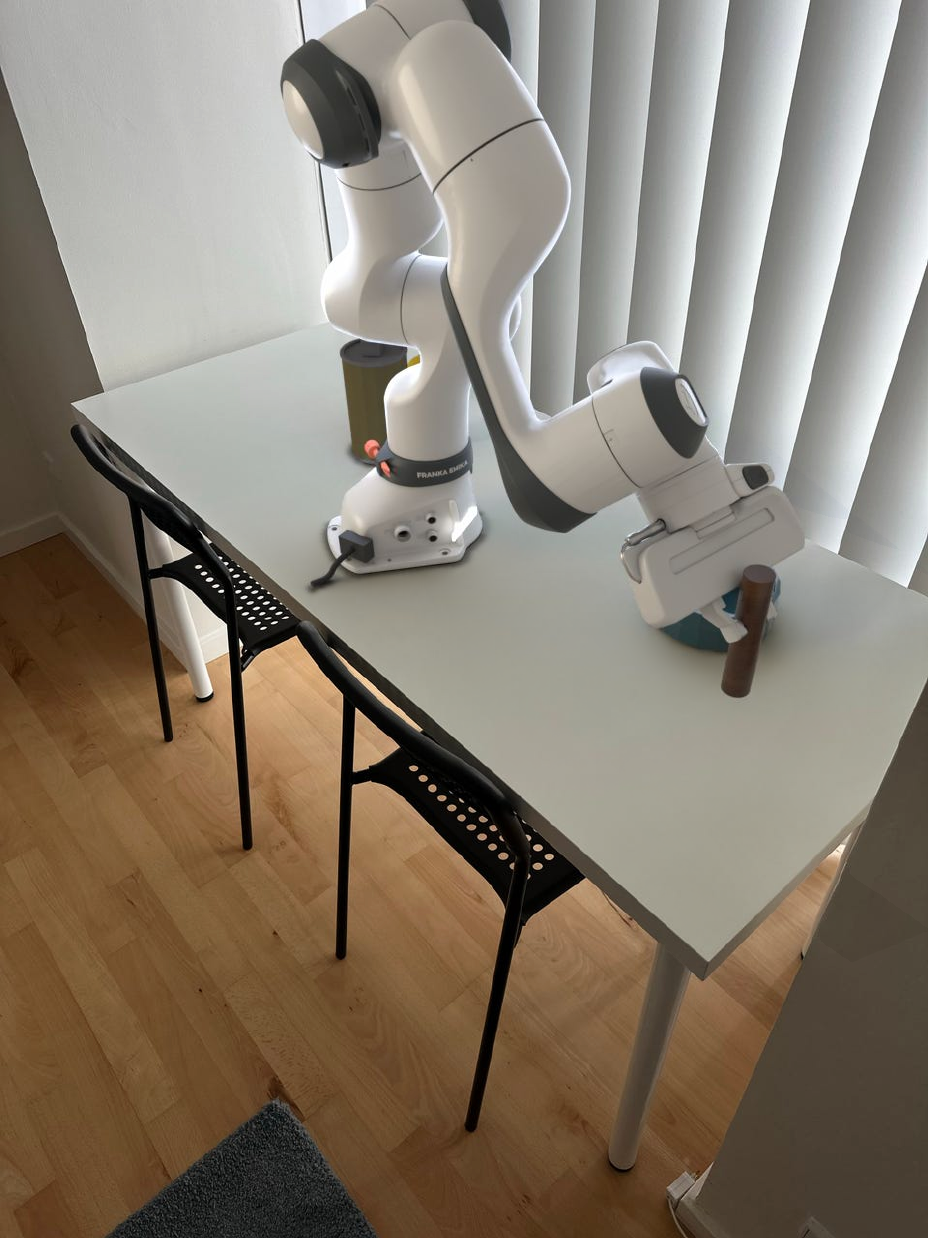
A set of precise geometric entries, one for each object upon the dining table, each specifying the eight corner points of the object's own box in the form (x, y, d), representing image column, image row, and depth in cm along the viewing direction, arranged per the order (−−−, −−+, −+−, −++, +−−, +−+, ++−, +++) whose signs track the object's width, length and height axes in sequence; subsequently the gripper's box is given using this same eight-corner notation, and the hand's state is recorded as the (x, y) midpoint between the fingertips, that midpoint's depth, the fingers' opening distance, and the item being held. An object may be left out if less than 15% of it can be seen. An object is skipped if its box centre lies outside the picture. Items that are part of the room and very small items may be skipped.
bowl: (690, 668, 114) (696, 630, 110) (629, 596, 125) (632, 559, 121) (796, 636, 118) (806, 598, 114) (728, 568, 129) (735, 532, 125)
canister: (406, 467, 152) (397, 348, 139) (344, 463, 153) (329, 345, 141) (420, 434, 160) (413, 319, 147) (361, 430, 162) (348, 316, 149)
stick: (731, 701, 97) (755, 586, 87) (715, 682, 99) (737, 568, 89) (756, 693, 98) (783, 578, 88) (739, 674, 100) (764, 560, 90)
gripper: (632, 533, 85) (700, 671, 85) (781, 457, 94) (842, 582, 94) (595, 551, 91) (659, 680, 91) (739, 478, 100) (797, 595, 100)
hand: (753, 630), depth 93 cm, fingers closed on stick, 3 cm apart
